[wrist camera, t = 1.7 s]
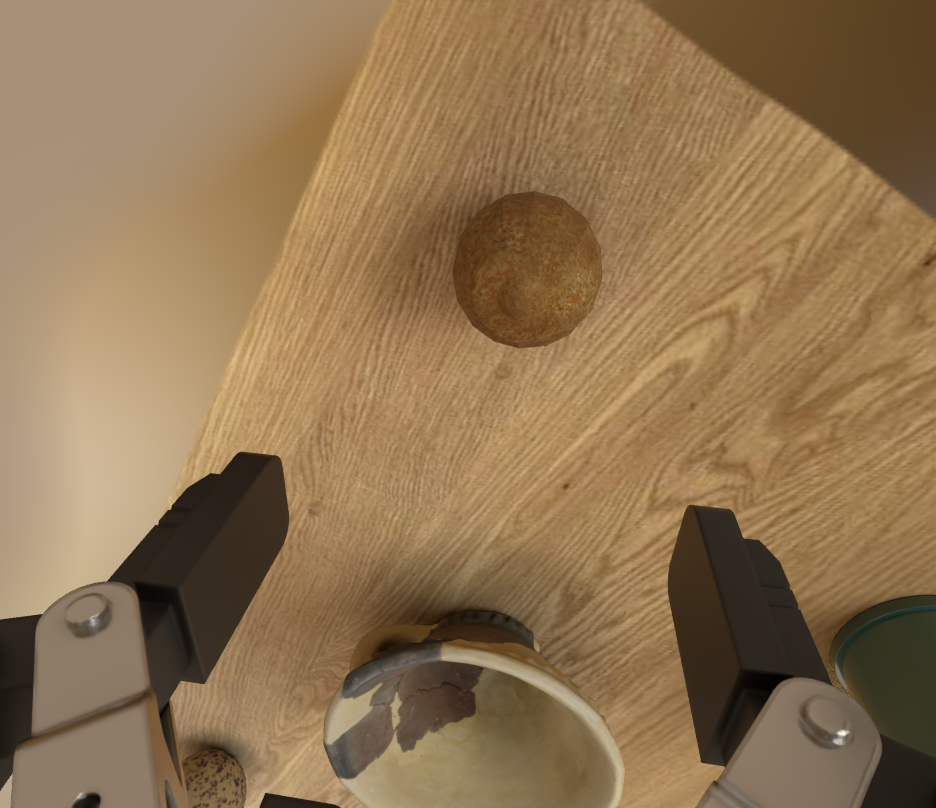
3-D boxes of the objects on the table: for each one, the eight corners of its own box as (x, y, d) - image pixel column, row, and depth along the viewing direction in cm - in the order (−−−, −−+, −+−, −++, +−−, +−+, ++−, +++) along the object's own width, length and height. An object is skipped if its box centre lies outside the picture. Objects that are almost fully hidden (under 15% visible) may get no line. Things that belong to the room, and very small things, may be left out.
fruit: (447, 202, 29) (411, 249, 22) (577, 155, 27) (583, 190, 20) (490, 321, 31) (471, 396, 24) (611, 285, 30) (627, 356, 23)
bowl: (663, 603, 39) (691, 748, 31) (544, 744, 48) (540, 885, 40) (409, 503, 38) (368, 626, 30) (335, 667, 47) (287, 797, 39)
